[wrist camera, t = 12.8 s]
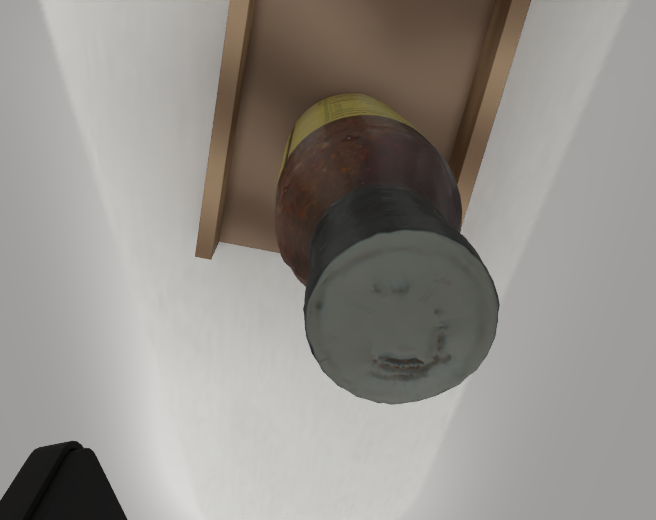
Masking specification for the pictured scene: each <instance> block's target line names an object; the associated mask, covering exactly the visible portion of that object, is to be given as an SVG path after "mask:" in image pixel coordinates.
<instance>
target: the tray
mask: <svg viewBox="0 0 656 520" xmlns="http://www.w3.org/2000/svg"><path fill="white" fill-rule="evenodd" d="M530 2H531V0H230V5H229V12H228V19H227V27H226V34H225V41H224V49H223V56H222V63H221V71H220V78H219V85H218V93H217V100H216V107H215V114H214V122H213V129H212V136H211V144H210V151H209V158H208V166H207V173H206V180H205V188H204V195H203V202H202V210H201V217H200V224H199V231H198V239H197V246H196V253H195V257H200V258H206V259H212V256H213V254H214V252H215V250H216V247H217V245H218V243H219V242H224V243H230V244H235V245H240V246H246V247H251V248H256V249H261V250H267V251H272V252H277V253H280V250H279V246H278V243H277V238H276V233H275V194H276V187H277V182H278V178H279V173H280V169H281V164H282V159H283V155H284V150H285V146H286V143H287V140H288V137H289V135H290V133H291V131H292V130H293V128H294V126H295V123H296V121H297V120H298V119H299V118H300V117H301V115H302V114H303V113H304V112H305V111H306V110H308V109H309V108H310V107H311V106H313V105H314V104H316V103H318V102H319V101H321V100H324V99H325V98H326V97H329V96H335V95H340V94H350V93H352V94H364V95H367V96H370V97H373V98H375V99H377V100H379V101H381V102H383V103H384V104H386V105H387V106H388V107H390V108H391V109H392V110H393V111H395V112H396V113H397V114H398V115H400V116H401V117H402V118H404V119H405V120H406V121H408V122H409V123H410V124H411V125H413V126H414V127H415V128H416V129H417V130H418V131H419V132H420V133H421V134H422V135H423V136H424V137H425V138H426V139H427V140H429V141H430V142H431V143H432V144H433V145H434V146H435V147H436V149H437V150H438V151H439V153H440V154H441V155H442V157H443V158H444V159H445V160H446V162H447V164H448V166H449V167H450V169H451V171H452V173H453V175H454V178H455V180H456V183H457V186H458V189H459V193H460V196H461V204H462V223H463V220H464V217H465V213H466V210H467V207H468V204H469V200H470V197H471V194H472V191H473V187H474V184H475V181H476V178H477V174H478V171H479V168H480V165H481V161H482V158H483V155H484V152H485V148H486V145H487V142H488V139H489V135H490V132H491V129H492V126H493V122H494V119H495V116H496V113H497V110H498V106H499V103H500V100H501V97H502V93H503V90H504V87H505V84H506V80H507V77H508V74H509V71H510V67H511V64H512V61H513V58H514V54H515V51H516V48H517V45H518V41H519V38H520V35H521V32H522V28H523V25H524V22H525V19H526V15H527V12H528V9H529V6H530ZM461 226H462V225H461Z"/></svg>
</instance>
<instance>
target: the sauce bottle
mask: <svg viewBox="0 0 656 520" xmlns="http://www.w3.org/2000/svg"><path fill="white" fill-rule="evenodd" d="M461 225H462V204H461V196H460V193H459V189H458V186H457V183H456V180H455V178H454V175H453V173H452V171H451V169H450V167H449V166H448V164H447V162H446V160H445V159H444V158H443V157H442V155H441V154H440V153H439V151H438V150H437V149H436V147H435V146H434V145H433V144H432V143H431V142H430V141H429V140H427V139H426V138H425V137H424V136H423V135H422V134H421V133H420V132H419V131H418V130H417V129H416V128H415V127H414V126H413V125H411V124H410V123H409V122H408V121H406V120H405V119H404V118H402V117H401V116H400V115H398V114H397V113H396V112H395V111H393V110H392V109H391V108H390V107H388V106H387V105H386V104H384V103H383V102H381V101H379V100H377V99H375V98H373V97H370V96H367V95H364V94H352V93H350V94H340V95H335V96H329V97H326V98H325V99H324V100H321V101H319V102H318V103H316V104H314V105H313V106H311V107H310V108H309V109H308V110H306V111H305V112H304V113H303V114H302V115H301V117H300V118H299V119H298V120H297V121H296V123H295V126H294V128H293V130H292V131H291V133H290V135H289V137H288V140H287V143H286V146H285V150H284V155H283V159H282V164H281V169H280V173H279V178H278V182H277V187H276V194H275V233H276V238H277V243H278V246H279V250H280V253H281V256H282V258H283V260H284V262H285V263H286V264H287V265H288V266H289V267H291V269H292V270H293V272H294V274H295V276H296V277H297V279H298V280H299V281H300V282H301V283H302V284H304V285H305V286H306V291H305V304H304V308H303V310H304V320H305V330H306V337H307V340H308V343H309V345H310V349H311V352H312V354H313V356H314V357H315V359H316V360H317V362H318V363H319V365H320V367H321V369H322V371H323V372H324V373H325V374H326V375H327V376H328V377H330V378H331V379H332V380H333V381H334V382H335V383H336V384H337V385H338V386H340V387H342V388H344V389H346V390H347V391H349V392H350V393H352V394H353V395H355V396H357V397H360V398H364V399H367V400H371V401H374V402H377V403H387V404H402V403H408V402H415V401H420V400H423V399H427V398H430V397H433V396H436V395H438V394H440V393H442V392H445V391H447V390H449V389H451V388H453V387H455V386H457V385H459V384H460V383H461V382H462V381H463V380H464V379H466V378H467V377H468V376H469V375H470V374H472V373H473V372H475V371H476V370H477V369H478V367H479V366H480V364H481V363H482V361H483V360H484V359H485V357H486V356H487V354H488V352H489V350H490V348H491V345H492V343H493V341H494V338H495V335H496V328H497V323H498V311H499V299H498V295H497V292H496V289H495V285H494V282H493V280H492V278H491V276H490V274H489V272H488V270H487V268H486V267H485V265H484V264H483V262H482V260H481V259H480V257H479V255H478V253H477V252H476V250H475V249H474V248H473V246H472V245H471V244H470V243H469V242H468V241H467V239H466V238H465V237H464V236H463V235H461V234H460V231H461Z"/></svg>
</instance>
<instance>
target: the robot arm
mask: <svg viewBox="0 0 656 520" xmlns="http://www.w3.org/2000/svg"><path fill="white" fill-rule="evenodd" d="M0 520H127V518H126V516H125V514H124V512H123V510H122V508H121V506H120V504H119V502H118V500H117V498H116V495H115V494H114V491H113V489H112V488H111V485H110V483H109V481H108V479H107V477H106V475H105V473H104V471H103V469H102V467H101V465H100V463H99V461H98V459H97V457H96V455H95V453H94V452H93V451H92V450H91V449H90V448H83V447H82V445H81V444H79V443H78V442H77V441H69V442H64V443H59V444H54V445H49V446H44V447H39V448H37V449H35V450H34V451H33V452H32V453H31V454H30V456H29V457H28V459H27V460H26V462H25V463H24V465H23V466H22V468H21V470H20V471H19V473H18V474H17V476H16V477H15V479H14V480H13V482H12V483H11V485H10V487H9V488H8V490H7V491H6V493H5V494H4V496H3V497H2V499H1V500H0Z"/></svg>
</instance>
